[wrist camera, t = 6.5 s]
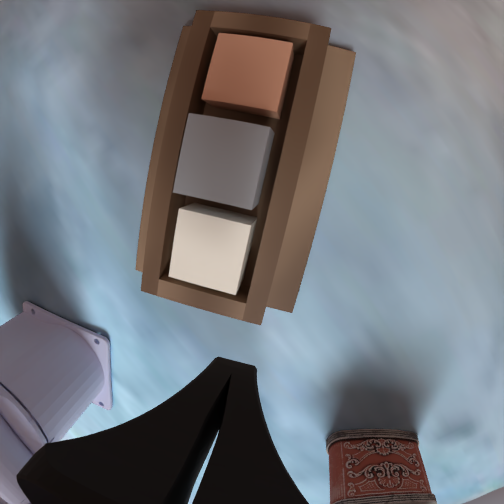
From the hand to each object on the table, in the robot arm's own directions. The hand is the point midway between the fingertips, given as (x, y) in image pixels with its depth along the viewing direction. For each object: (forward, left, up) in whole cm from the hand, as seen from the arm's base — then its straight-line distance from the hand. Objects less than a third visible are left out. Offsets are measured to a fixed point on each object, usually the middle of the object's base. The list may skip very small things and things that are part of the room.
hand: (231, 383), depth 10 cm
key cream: (-3, +2, -9) cm, 9 cm away
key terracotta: (-3, +11, -9) cm, 14 cm away
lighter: (+12, -11, -10) cm, 19 cm away
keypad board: (-3, +7, -9) cm, 12 cm away
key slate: (-3, +7, -7) cm, 10 cm away
